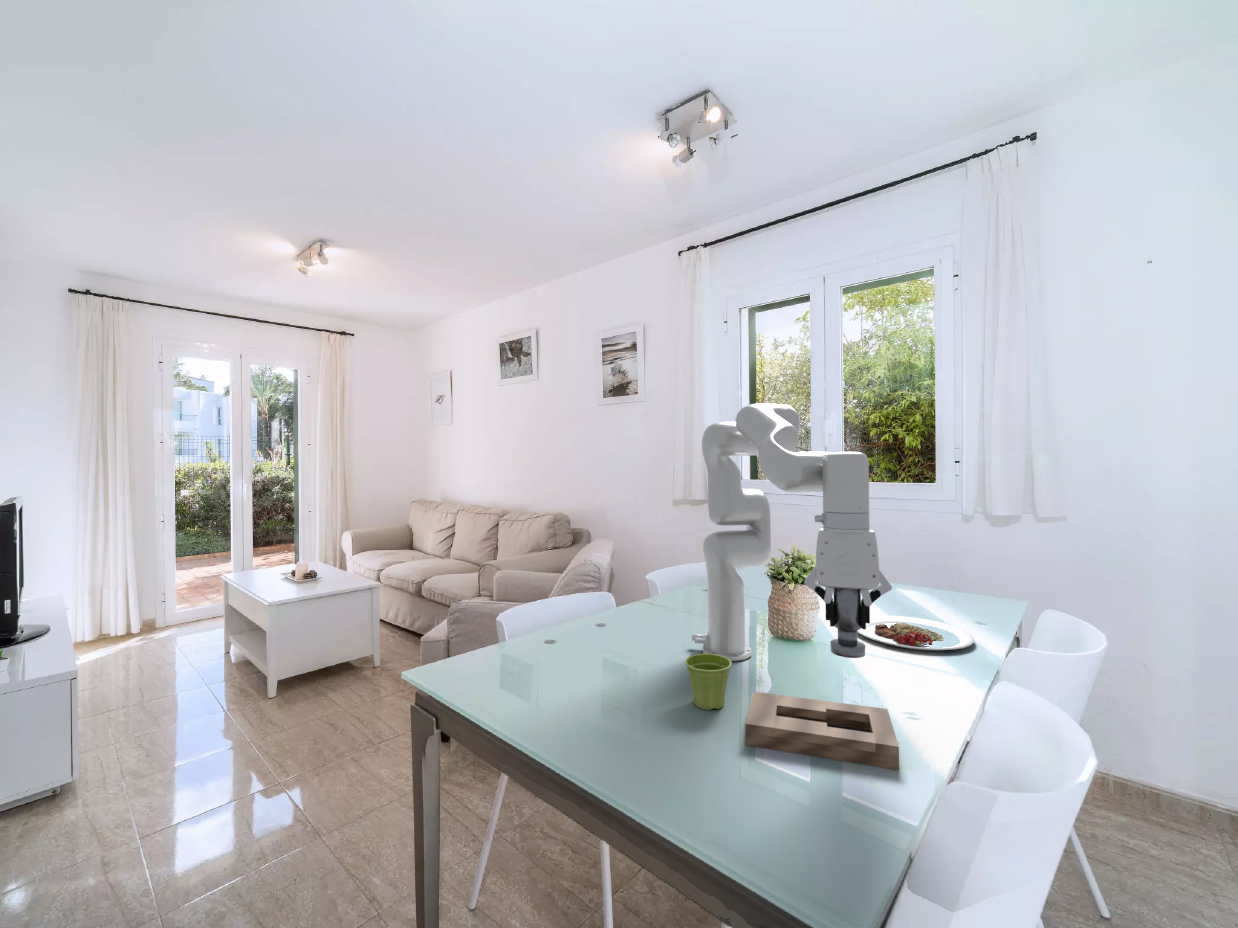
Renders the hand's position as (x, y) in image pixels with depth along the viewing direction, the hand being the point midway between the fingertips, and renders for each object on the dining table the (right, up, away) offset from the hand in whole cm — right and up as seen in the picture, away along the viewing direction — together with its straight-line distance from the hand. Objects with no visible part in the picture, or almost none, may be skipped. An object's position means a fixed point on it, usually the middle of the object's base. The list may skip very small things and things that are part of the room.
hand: (847, 624), depth 94 cm
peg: (0, -5, 0) cm, 5 cm away
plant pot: (-22, -21, +15) cm, 34 cm away
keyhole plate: (-5, -21, +2) cm, 21 cm away
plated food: (+42, -21, +57) cm, 74 cm away
